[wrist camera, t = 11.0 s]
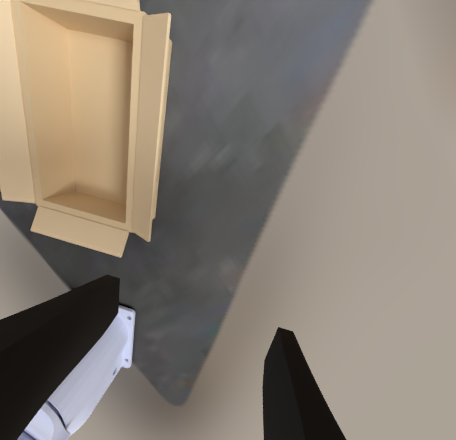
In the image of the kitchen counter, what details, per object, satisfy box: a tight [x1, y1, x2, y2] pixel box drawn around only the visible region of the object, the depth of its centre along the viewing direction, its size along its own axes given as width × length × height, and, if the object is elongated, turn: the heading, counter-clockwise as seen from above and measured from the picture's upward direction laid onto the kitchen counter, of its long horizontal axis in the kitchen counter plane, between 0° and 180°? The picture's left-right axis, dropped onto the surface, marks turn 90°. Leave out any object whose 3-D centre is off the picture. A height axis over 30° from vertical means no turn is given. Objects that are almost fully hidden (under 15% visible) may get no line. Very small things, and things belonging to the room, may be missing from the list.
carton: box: [0, 0, 172, 257], centre depth 15 cm, size 12×17×4 cm
